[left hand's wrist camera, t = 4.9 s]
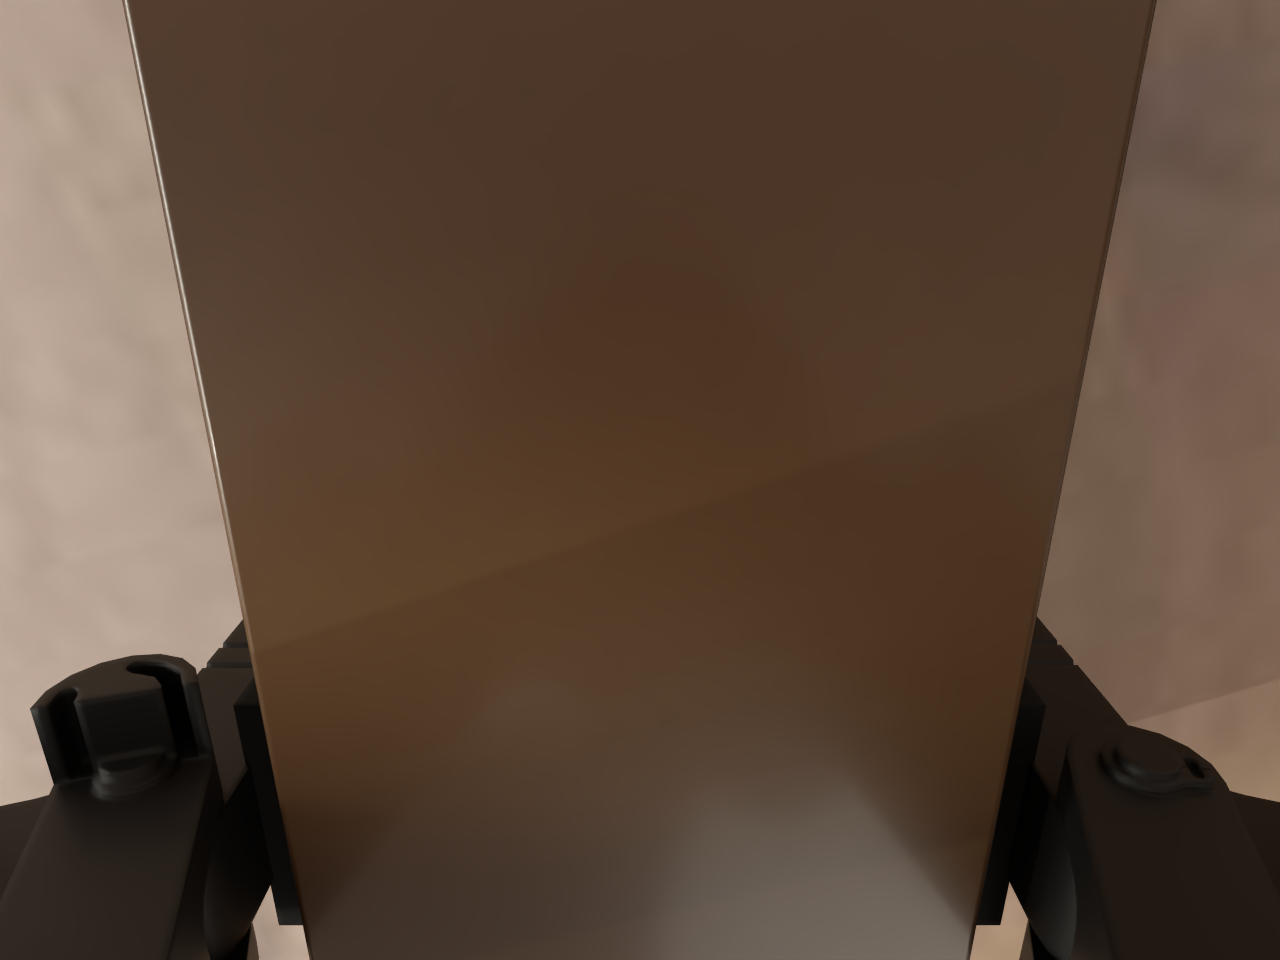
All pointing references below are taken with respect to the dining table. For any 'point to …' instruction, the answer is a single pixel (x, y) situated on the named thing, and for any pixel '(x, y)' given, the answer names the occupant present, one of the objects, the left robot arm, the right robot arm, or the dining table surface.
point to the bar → (639, 444)
